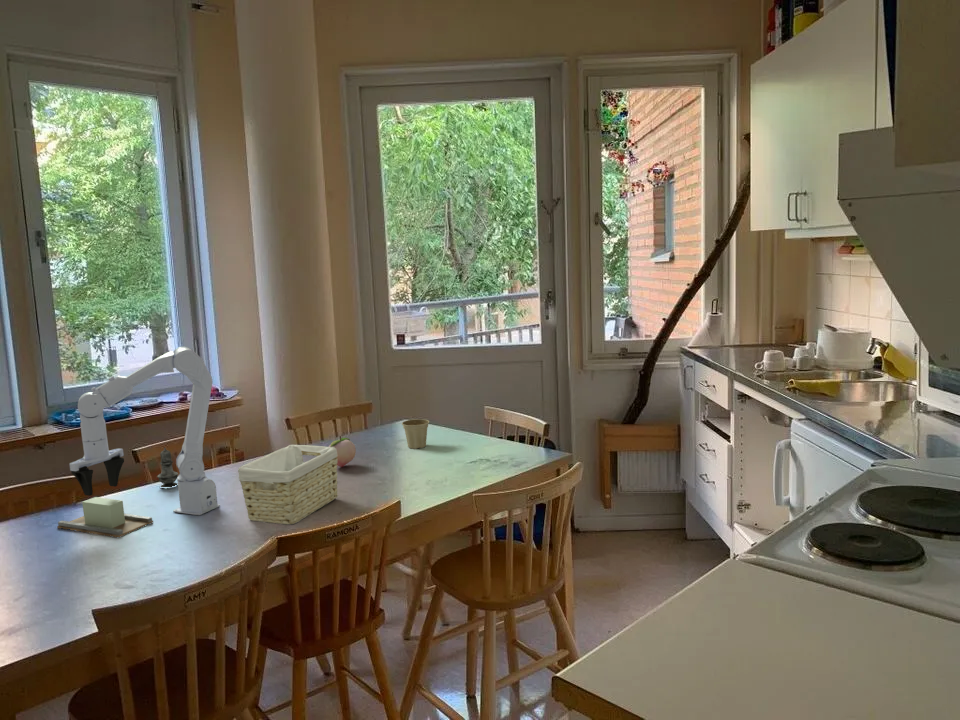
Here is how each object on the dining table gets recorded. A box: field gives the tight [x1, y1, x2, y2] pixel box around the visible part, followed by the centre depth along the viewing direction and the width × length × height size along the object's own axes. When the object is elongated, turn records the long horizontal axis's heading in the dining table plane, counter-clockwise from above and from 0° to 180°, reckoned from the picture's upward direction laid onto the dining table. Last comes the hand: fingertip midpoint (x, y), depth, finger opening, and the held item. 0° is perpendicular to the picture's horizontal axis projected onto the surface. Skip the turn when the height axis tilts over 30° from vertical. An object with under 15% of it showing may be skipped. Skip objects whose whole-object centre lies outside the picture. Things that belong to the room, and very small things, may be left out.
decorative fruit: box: [328, 435, 357, 468], centre depth 245 cm, size 9×8×10 cm
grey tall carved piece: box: [157, 447, 179, 487], centre depth 233 cm, size 6×6×12 cm
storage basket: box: [237, 444, 339, 526], centre depth 207 cm, size 24×16×15 cm
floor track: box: [57, 513, 154, 538], centre depth 202 cm, size 22×11×2 cm, turn 65°
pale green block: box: [81, 496, 125, 528], centre depth 202 cm, size 10×4×6 cm, turn 65°
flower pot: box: [401, 418, 430, 450], centre depth 266 cm, size 9×9×9 cm
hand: (101, 490), depth 201 cm, fingers open, 7 cm apart
